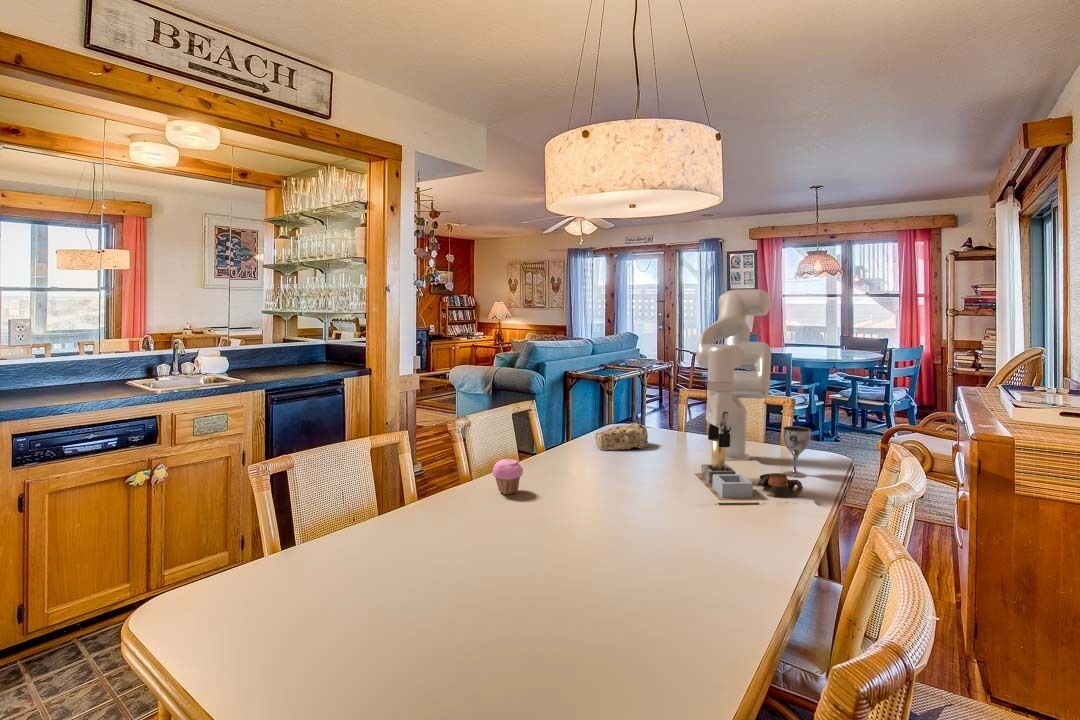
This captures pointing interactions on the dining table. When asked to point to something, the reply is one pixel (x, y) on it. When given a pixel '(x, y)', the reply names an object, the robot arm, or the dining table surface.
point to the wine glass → (796, 445)
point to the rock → (622, 437)
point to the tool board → (707, 479)
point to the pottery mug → (780, 485)
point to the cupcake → (507, 475)
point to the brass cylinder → (718, 456)
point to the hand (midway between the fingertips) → (718, 443)
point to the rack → (732, 486)
